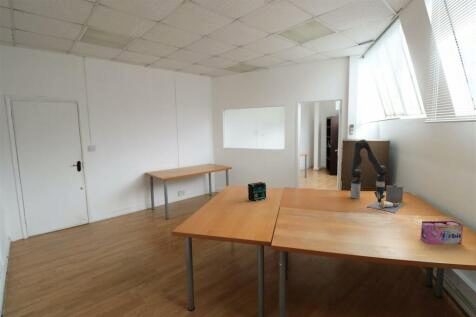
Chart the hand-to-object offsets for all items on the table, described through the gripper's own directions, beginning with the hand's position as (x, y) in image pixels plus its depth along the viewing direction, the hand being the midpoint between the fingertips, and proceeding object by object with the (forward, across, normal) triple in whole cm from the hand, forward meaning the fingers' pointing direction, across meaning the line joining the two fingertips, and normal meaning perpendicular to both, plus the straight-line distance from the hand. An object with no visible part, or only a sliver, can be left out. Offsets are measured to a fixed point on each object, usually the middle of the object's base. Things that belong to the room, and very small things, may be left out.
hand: (379, 202), depth 239 cm
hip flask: (+7, +14, -30) cm, 34 cm away
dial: (+4, 0, -7) cm, 8 cm away
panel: (+6, +2, -10) cm, 12 cm away
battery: (+7, +62, +110) cm, 127 cm away
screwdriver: (+4, -2, -20) cm, 21 cm away
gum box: (+5, -71, +12) cm, 72 cm away
